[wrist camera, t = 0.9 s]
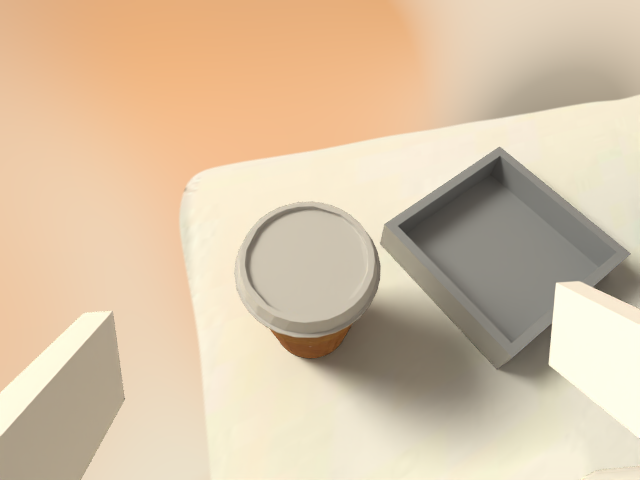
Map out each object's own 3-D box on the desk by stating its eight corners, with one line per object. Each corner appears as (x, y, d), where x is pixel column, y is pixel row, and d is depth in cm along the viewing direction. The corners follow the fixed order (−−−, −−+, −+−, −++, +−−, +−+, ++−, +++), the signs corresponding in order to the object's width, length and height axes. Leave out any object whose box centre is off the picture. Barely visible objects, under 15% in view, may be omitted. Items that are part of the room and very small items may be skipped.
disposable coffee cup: (252, 379, 37) (224, 331, 27) (258, 272, 42) (237, 196, 31) (370, 378, 37) (389, 329, 27) (363, 271, 42) (377, 194, 31)
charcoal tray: (488, 169, 48) (499, 146, 44) (608, 271, 42) (630, 253, 39) (380, 243, 43) (384, 224, 40) (497, 369, 37) (512, 357, 34)
